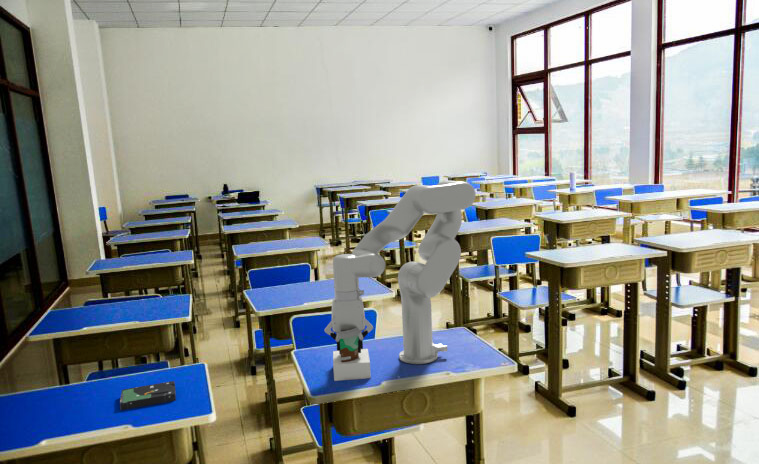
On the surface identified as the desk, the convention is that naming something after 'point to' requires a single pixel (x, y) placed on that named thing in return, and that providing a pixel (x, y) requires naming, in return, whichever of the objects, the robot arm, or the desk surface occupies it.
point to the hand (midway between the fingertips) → (350, 351)
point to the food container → (349, 344)
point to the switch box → (351, 367)
